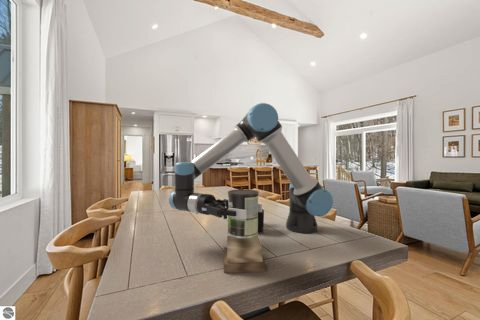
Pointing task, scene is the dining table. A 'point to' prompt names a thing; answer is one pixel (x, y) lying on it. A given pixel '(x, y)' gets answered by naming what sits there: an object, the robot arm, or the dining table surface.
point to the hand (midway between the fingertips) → (254, 211)
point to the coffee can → (249, 203)
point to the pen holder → (260, 221)
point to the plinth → (243, 265)
